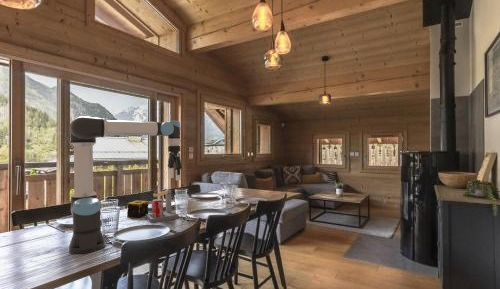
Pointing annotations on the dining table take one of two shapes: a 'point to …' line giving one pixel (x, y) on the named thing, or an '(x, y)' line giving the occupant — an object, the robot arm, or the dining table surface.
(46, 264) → the dining table surface
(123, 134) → the robot arm
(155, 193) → the clip
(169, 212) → the gray post stand
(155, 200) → the soda can
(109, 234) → the dining table surface
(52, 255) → the dining table surface
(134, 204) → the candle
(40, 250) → the dining table surface
